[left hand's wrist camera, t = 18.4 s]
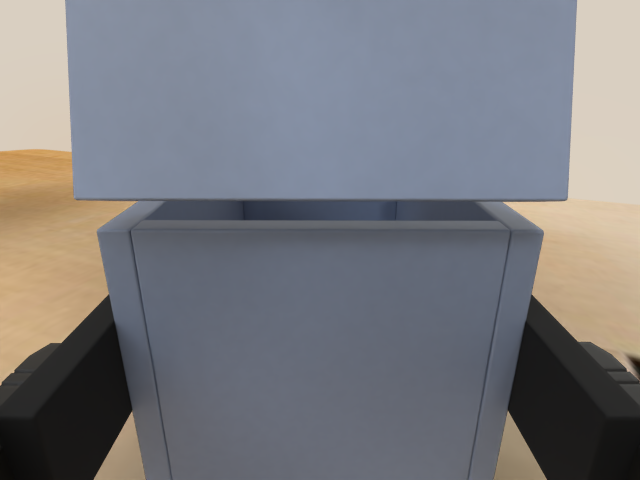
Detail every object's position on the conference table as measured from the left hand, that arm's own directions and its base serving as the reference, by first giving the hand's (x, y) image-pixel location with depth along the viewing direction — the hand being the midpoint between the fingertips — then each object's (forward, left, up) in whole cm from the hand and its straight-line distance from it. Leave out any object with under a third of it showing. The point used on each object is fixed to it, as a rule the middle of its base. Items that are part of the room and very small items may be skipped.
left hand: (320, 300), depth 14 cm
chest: (+3, -2, -6) cm, 7 cm away
